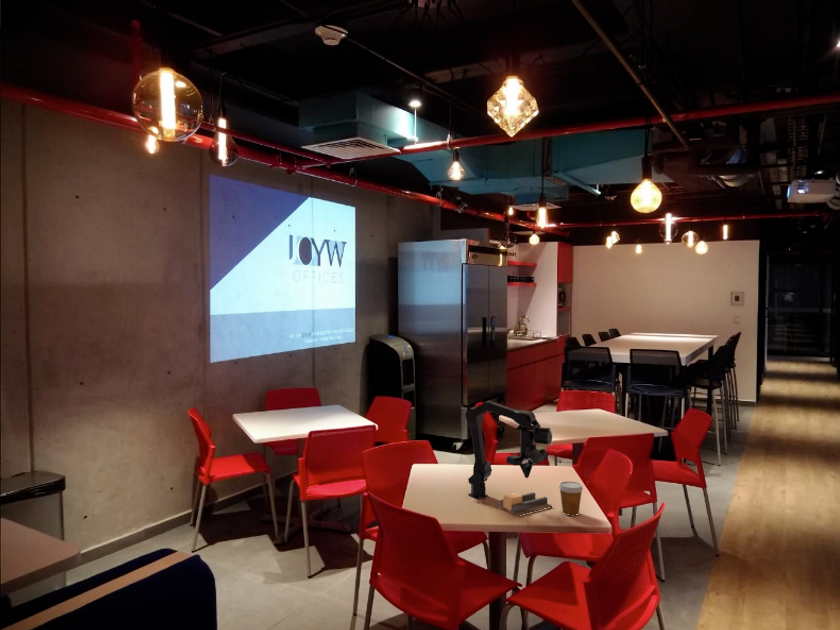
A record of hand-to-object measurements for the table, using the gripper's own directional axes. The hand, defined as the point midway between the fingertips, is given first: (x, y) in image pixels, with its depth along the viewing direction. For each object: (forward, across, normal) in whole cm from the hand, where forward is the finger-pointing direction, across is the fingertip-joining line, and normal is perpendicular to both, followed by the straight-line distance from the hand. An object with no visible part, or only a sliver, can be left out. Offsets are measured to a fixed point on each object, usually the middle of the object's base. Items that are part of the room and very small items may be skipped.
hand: (526, 477), depth 250 cm
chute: (+12, -2, -1) cm, 12 cm away
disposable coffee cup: (+12, +9, -17) cm, 22 cm away
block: (+11, -9, -1) cm, 14 cm away
